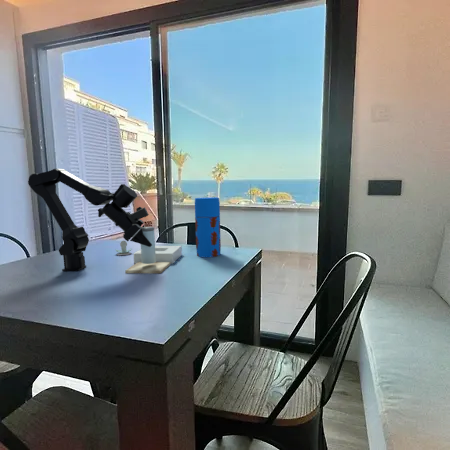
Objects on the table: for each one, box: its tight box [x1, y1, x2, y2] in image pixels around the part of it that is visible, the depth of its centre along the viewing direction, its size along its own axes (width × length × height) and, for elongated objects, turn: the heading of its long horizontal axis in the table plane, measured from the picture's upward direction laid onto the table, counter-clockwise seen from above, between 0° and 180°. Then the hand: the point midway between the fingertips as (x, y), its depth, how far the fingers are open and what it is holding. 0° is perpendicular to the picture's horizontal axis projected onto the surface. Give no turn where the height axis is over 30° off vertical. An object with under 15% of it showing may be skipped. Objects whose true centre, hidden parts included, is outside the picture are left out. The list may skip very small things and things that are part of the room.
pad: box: [125, 262, 172, 274], centre depth 123 cm, size 13×13×1 cm
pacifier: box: [115, 240, 133, 256], centre depth 149 cm, size 7×6×6 cm
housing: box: [133, 245, 183, 264], centre depth 138 cm, size 16×16×4 cm
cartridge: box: [140, 226, 156, 264], centre depth 122 cm, size 5×5×13 cm
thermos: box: [194, 196, 222, 258], centre depth 143 cm, size 11×11×25 cm
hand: (151, 244), depth 122 cm, fingers closed on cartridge, 5 cm apart
